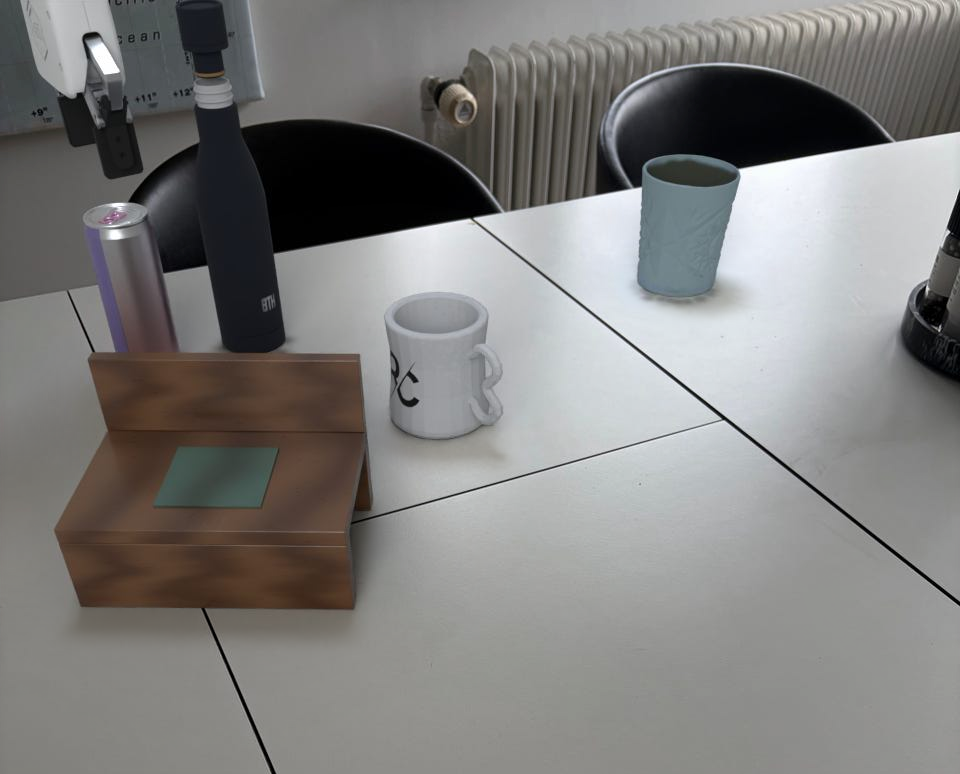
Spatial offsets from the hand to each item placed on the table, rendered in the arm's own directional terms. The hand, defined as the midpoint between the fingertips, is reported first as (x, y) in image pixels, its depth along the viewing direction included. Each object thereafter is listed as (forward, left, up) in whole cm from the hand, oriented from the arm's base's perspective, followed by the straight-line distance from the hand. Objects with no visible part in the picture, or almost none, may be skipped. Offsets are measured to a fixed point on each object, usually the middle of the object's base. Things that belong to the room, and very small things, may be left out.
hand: (106, 159), depth 89 cm
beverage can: (0, 0, -20) cm, 20 cm away
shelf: (+14, -29, -20) cm, 38 cm away
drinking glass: (+54, +21, -20) cm, 61 cm away
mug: (+30, -10, -20) cm, 37 cm away
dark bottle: (+9, +6, -20) cm, 22 cm away
